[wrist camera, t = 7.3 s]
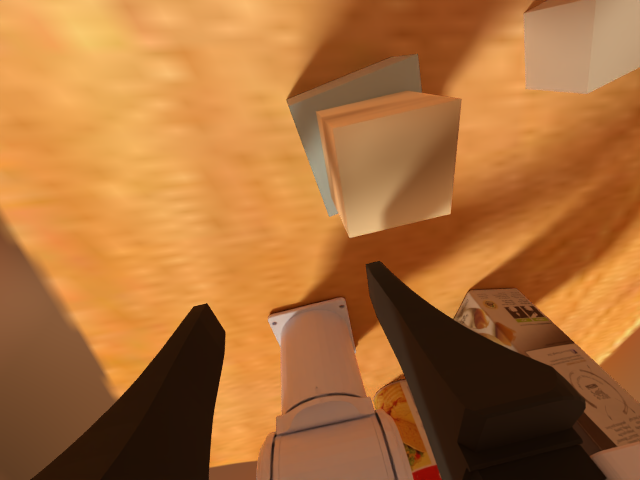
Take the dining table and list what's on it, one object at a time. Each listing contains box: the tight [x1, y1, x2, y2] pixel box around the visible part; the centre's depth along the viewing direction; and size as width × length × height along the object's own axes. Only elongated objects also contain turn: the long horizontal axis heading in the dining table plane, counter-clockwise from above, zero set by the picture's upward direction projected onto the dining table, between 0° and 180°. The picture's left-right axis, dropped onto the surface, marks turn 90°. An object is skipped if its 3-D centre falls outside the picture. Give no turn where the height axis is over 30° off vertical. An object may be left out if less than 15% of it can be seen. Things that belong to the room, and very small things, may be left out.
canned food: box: [373, 380, 442, 480], centre depth 35 cm, size 8×8×12 cm
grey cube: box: [524, 0, 640, 94], centre depth 15 cm, size 4×4×4 cm
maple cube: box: [316, 91, 461, 238], centre depth 13 cm, size 5×5×5 cm
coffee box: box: [454, 288, 640, 456], centre depth 25 cm, size 9×6×16 cm
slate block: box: [287, 54, 422, 217], centre depth 17 cm, size 7×7×4 cm
